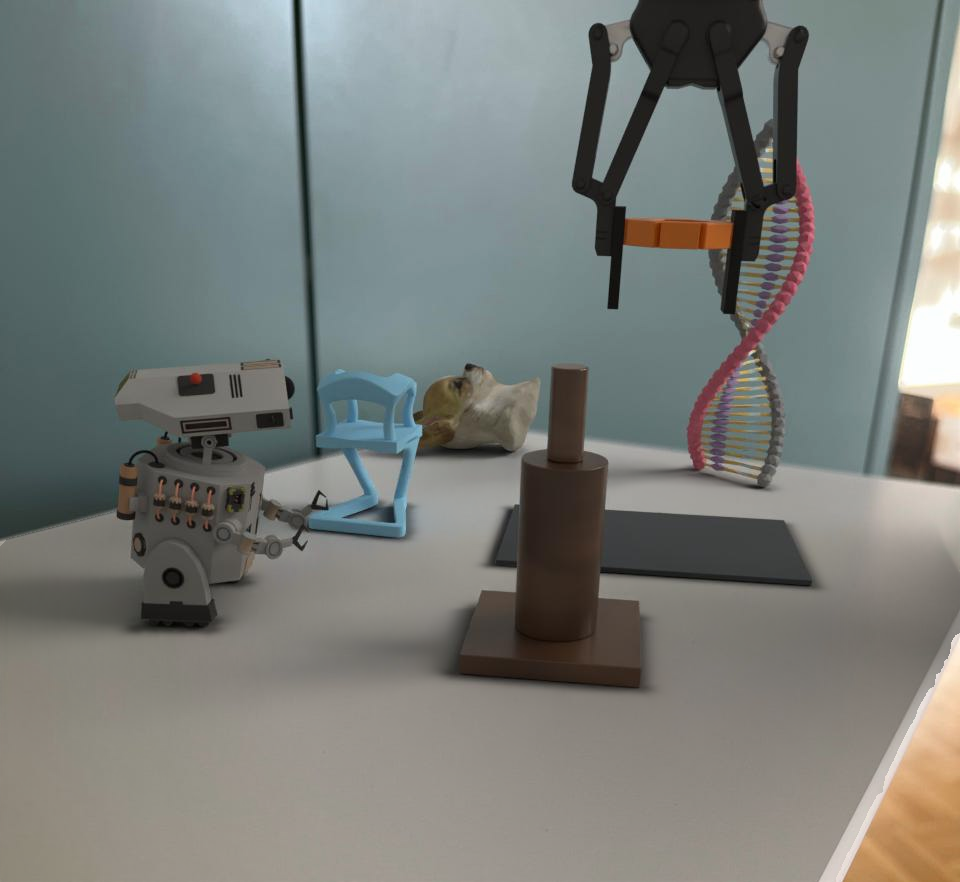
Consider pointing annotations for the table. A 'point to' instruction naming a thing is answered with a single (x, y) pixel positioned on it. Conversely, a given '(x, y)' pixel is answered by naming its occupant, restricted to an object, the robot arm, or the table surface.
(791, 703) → the table surface
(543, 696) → the table surface
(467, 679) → the table surface
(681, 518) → the rubber mat
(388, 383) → the chair
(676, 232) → the orange ring
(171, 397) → the figurine
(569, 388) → the ring stand
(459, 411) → the toy dog
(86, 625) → the table surface
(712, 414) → the dna model
